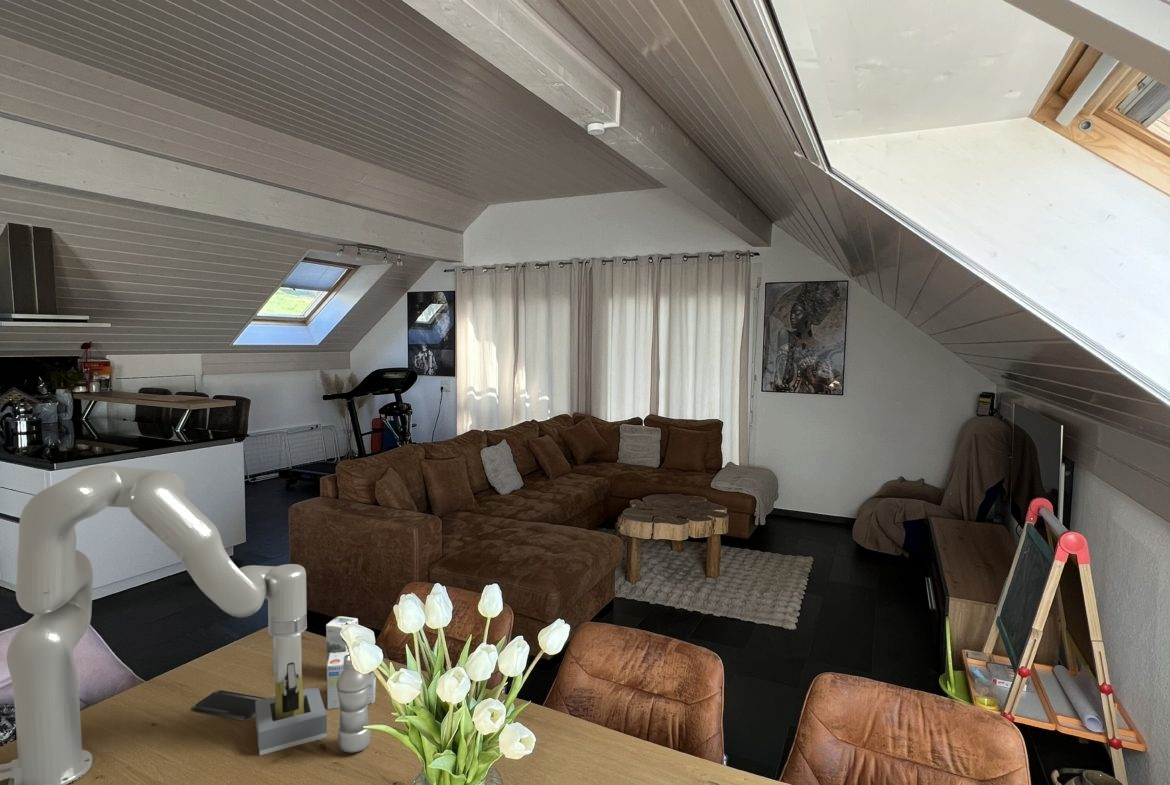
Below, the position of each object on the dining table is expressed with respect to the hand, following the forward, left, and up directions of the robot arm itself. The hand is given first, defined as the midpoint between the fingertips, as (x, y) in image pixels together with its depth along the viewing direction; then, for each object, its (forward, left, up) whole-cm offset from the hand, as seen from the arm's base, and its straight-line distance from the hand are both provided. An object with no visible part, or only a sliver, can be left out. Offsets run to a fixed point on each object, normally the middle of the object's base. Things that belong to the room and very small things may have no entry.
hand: (289, 702), depth 141 cm
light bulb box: (+14, +6, -7) cm, 17 cm away
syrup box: (+14, +18, -6) cm, 24 cm away
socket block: (0, 0, -6) cm, 6 cm away
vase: (0, 0, -4) cm, 4 cm away
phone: (-11, +16, -7) cm, 21 cm away
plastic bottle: (+11, -13, -6) cm, 18 cm away
